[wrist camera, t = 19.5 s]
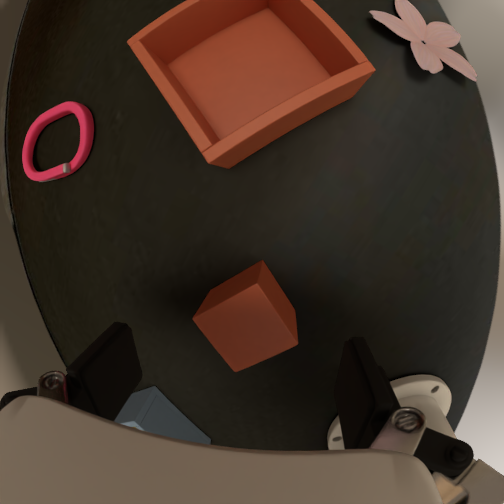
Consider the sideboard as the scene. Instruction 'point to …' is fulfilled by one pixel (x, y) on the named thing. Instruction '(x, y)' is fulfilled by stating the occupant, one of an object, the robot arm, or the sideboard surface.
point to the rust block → (248, 318)
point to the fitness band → (84, 147)
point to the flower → (426, 39)
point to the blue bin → (158, 417)
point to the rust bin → (248, 70)
